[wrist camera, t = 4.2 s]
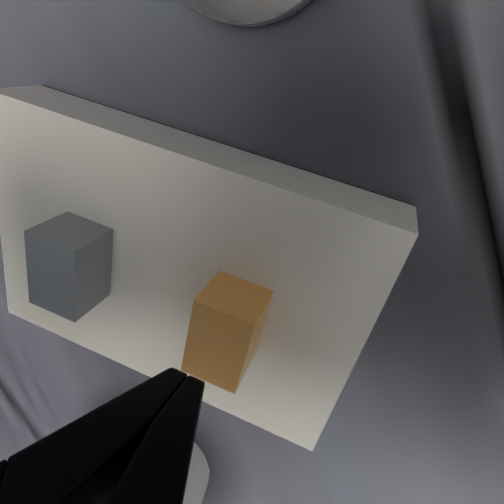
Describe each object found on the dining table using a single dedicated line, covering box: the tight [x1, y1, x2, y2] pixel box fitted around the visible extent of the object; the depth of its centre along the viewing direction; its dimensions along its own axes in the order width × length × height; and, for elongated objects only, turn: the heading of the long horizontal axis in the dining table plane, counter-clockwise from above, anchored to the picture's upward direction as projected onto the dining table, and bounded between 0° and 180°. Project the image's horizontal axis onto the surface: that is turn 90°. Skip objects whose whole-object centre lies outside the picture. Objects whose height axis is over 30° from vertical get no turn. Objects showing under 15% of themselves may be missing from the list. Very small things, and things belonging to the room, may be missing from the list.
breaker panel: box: [0, 85, 419, 451], centre depth 12 cm, size 12×8×4 cm, turn 77°
